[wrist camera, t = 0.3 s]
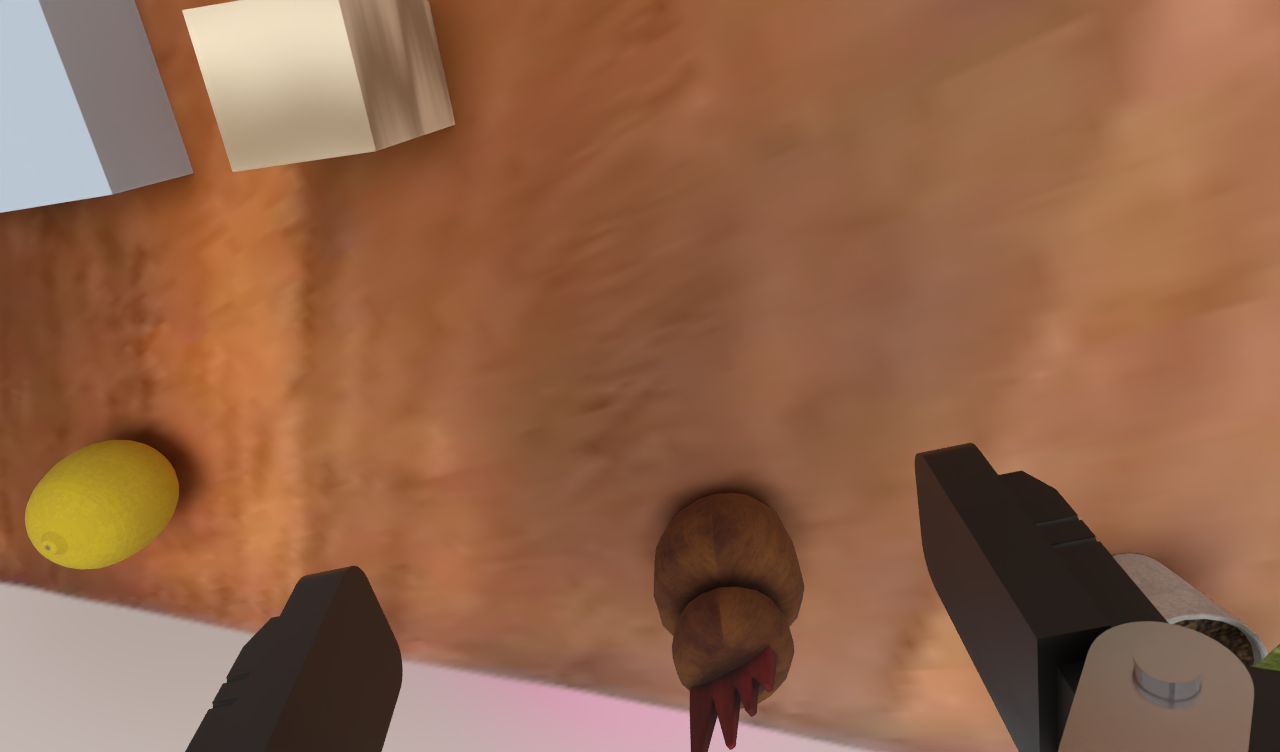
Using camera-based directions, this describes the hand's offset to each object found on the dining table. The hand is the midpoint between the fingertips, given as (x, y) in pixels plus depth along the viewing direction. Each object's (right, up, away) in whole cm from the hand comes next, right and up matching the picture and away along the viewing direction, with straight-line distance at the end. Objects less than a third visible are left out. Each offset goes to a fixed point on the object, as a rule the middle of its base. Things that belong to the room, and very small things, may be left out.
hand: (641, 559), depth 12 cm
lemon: (-25, -2, +32) cm, 41 cm away
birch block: (-11, +16, +24) cm, 31 cm away
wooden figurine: (+4, -5, +32) cm, 32 cm away
